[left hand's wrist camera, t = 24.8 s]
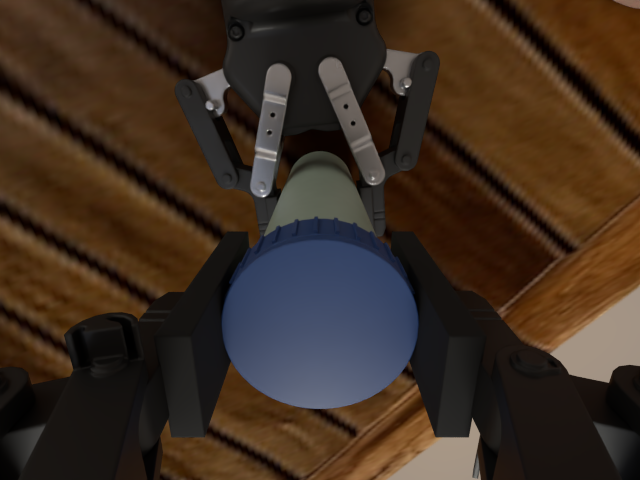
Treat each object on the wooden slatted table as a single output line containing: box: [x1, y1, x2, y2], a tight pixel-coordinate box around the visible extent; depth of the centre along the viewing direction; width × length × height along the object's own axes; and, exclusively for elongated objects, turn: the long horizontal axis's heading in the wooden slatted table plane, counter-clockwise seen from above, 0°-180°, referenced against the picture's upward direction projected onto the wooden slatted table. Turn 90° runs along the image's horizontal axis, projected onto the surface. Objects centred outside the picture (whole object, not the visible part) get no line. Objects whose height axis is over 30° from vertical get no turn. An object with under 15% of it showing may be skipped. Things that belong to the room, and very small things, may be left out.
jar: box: [264, 151, 377, 237], centre depth 20 cm, size 5×5×19 cm
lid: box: [221, 216, 419, 409], centre depth 11 cm, size 5×6×2 cm
